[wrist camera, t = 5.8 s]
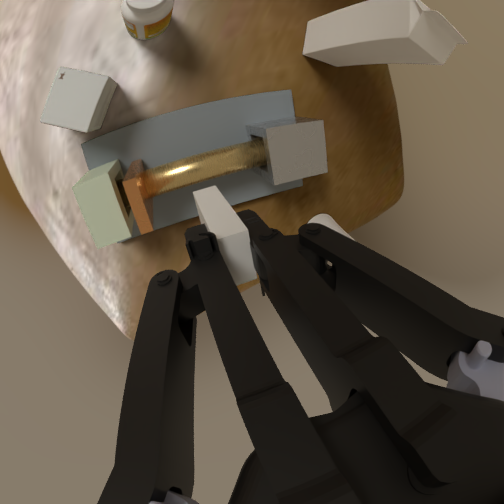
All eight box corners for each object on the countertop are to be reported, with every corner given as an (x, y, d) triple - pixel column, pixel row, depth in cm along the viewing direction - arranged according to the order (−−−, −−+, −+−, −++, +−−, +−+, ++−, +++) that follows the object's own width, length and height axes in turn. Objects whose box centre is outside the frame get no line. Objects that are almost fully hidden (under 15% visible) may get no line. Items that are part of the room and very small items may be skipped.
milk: (307, 21, 27) (433, -15, 9) (341, 35, 29) (468, 20, 11) (301, 55, 29) (436, 35, 11) (337, 68, 32) (469, 68, 14)
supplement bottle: (175, 8, 21) (185, -25, 13) (162, 42, 24) (166, 17, 16) (134, 3, 19) (130, -30, 11) (120, 38, 21) (109, 13, 13)
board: (83, 143, 26) (81, 144, 25) (286, 90, 32) (291, 89, 31) (118, 239, 34) (117, 243, 33) (299, 183, 39) (302, 185, 38)
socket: (89, 170, 27) (71, 187, 21) (118, 158, 28) (107, 172, 22) (107, 220, 31) (97, 249, 25) (135, 210, 32) (131, 236, 26)
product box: (60, 119, 24) (37, 122, 18) (77, 73, 22) (58, 64, 16) (101, 129, 27) (87, 134, 21) (119, 83, 25) (110, 75, 19)
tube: (109, 170, 28) (91, 194, 20) (265, 125, 32) (305, 133, 24) (122, 208, 31) (112, 245, 23) (271, 163, 35) (310, 183, 27)
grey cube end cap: (245, 124, 31) (265, 128, 26) (294, 116, 33) (323, 120, 27) (253, 171, 35) (274, 185, 29) (300, 160, 36) (327, 172, 31)
